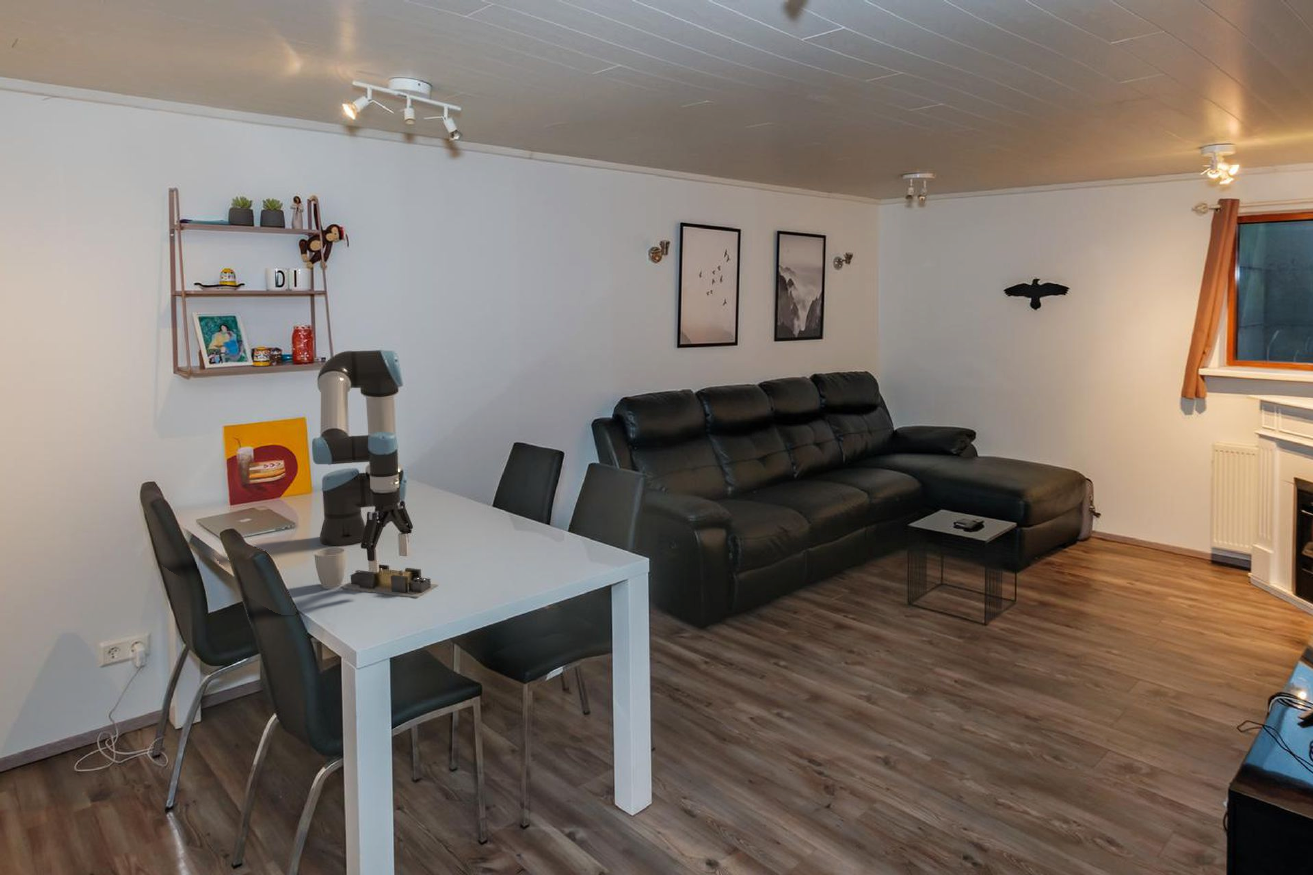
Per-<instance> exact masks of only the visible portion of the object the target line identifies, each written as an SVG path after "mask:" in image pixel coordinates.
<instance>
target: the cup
mask: <svg viewBox="0 0 1313 875" xmlns="http://www.w3.org/2000/svg"><path fill="white" fill-rule="evenodd" d="M313 555H314V556H313V557H314V561H315V562H314V563H315V568H316V572H317V578H318V580H319V582H320V585H321V587H322V588H323V589H327V590H331V589H337V588H340V587H341V586H342V584H343V581H344V576H345V570H346V549H345V548H344V547H339V546H337V547H335V546H333V547H324V548H321V549H320V548H319V549H317V550H315V551H314V552H313Z"/></svg>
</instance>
